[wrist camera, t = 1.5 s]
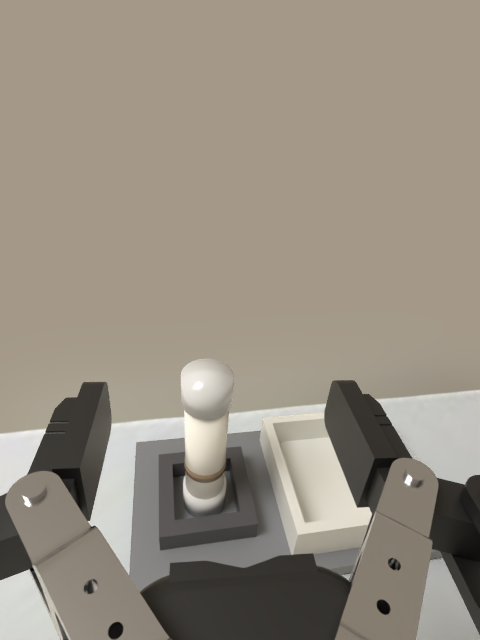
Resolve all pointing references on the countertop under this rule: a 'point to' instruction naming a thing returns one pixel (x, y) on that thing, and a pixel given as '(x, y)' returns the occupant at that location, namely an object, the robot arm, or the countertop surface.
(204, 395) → the white capped peg
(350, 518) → the grey board with tray
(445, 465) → the countertop surface
